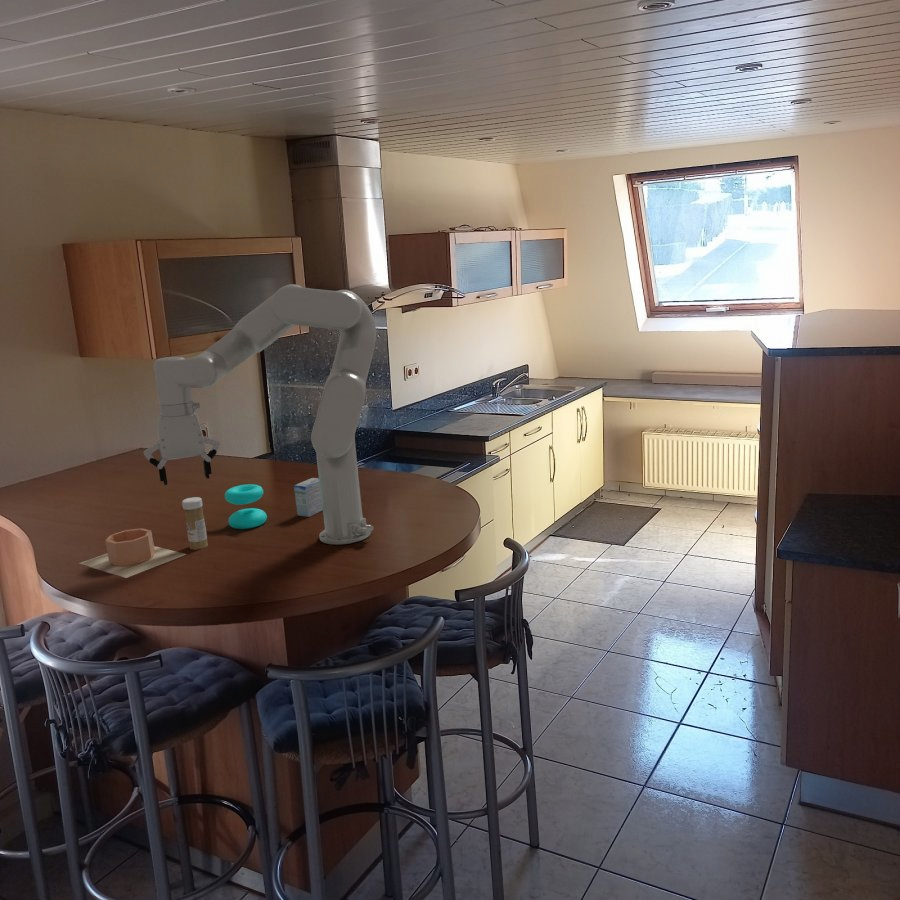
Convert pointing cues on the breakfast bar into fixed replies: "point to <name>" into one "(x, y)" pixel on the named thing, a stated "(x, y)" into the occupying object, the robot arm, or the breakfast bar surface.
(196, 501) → the spice jar
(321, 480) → the robot arm
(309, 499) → the medicine box
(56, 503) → the breakfast bar surface
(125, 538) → the terracotta octagonal bowl
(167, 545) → the breakfast bar surface
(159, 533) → the breakfast bar surface
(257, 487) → the donuts
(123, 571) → the birch board
